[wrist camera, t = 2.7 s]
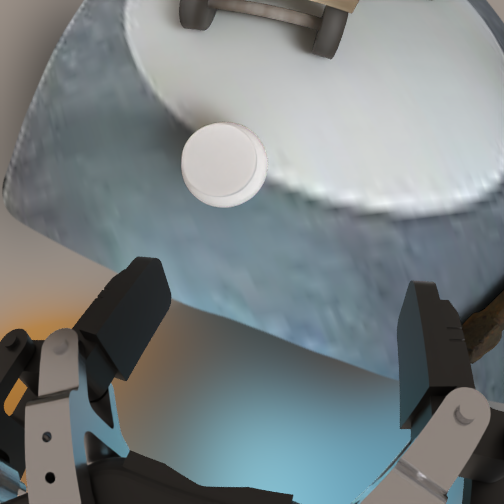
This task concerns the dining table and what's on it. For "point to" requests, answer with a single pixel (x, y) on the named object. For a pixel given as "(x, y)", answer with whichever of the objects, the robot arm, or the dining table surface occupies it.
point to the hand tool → (484, 329)
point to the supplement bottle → (224, 164)
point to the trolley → (329, 26)
